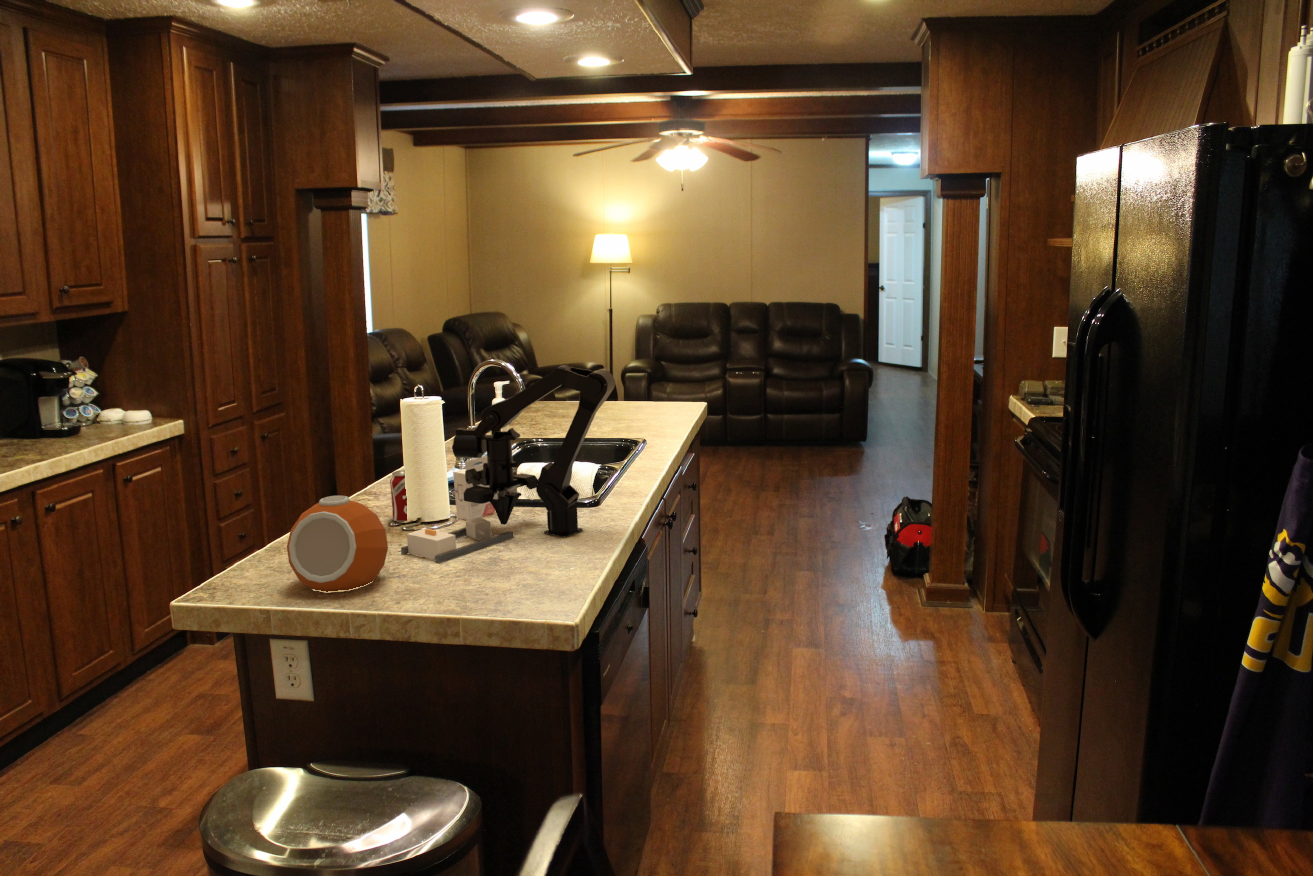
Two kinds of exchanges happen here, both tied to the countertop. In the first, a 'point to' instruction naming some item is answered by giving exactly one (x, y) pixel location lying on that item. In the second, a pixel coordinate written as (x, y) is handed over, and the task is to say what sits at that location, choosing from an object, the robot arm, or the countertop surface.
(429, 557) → the block
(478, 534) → the usb wall charger
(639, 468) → the countertop surface
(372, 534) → the alarm clock
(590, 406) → the robot arm
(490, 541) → the gray rail frame
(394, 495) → the soda can
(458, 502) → the ink cartridge box
